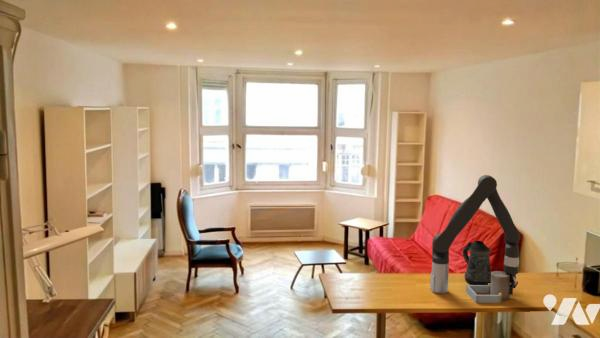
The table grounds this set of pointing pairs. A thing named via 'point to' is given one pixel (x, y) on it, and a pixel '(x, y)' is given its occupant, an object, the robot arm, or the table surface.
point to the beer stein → (477, 263)
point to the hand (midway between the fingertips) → (510, 294)
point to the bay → (475, 289)
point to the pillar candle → (500, 284)
